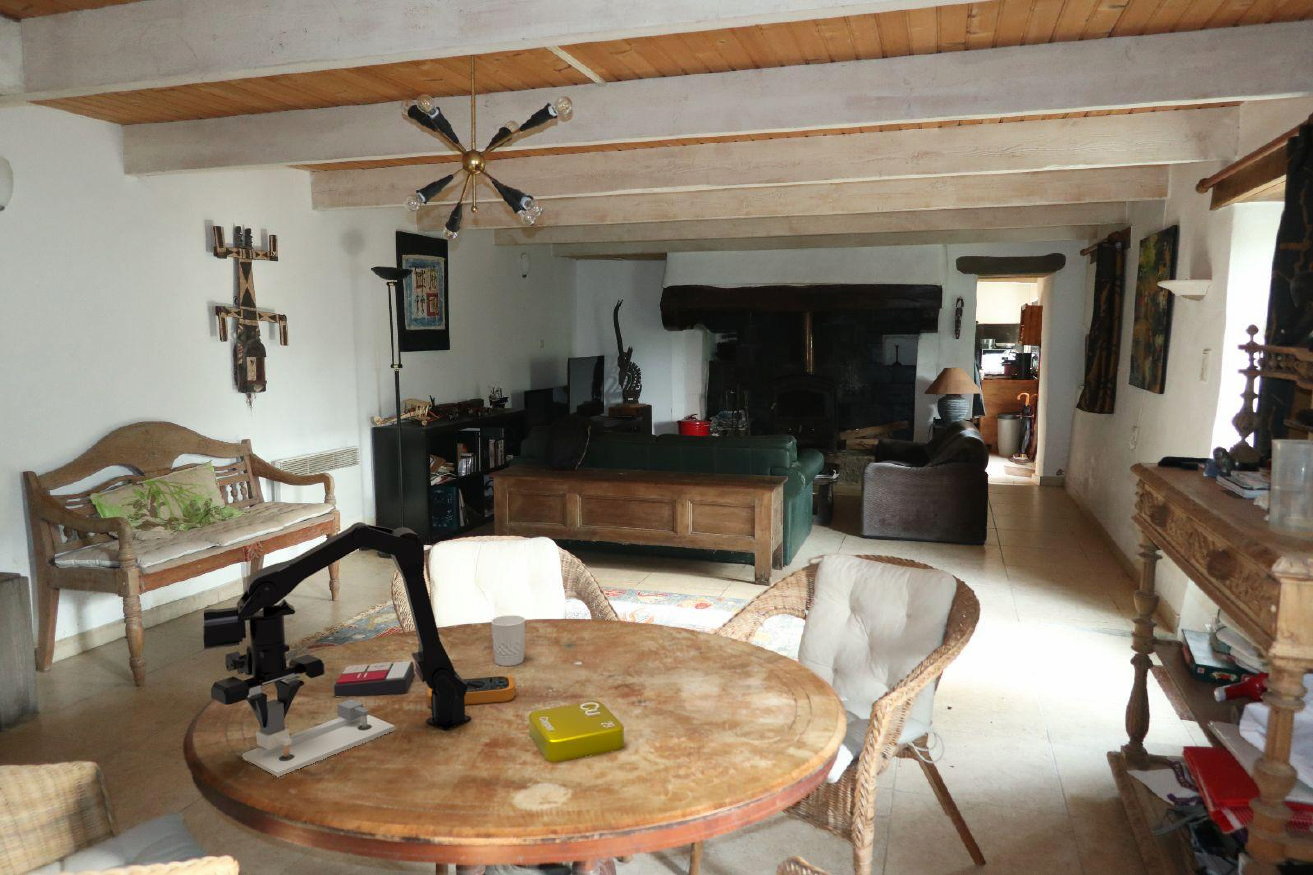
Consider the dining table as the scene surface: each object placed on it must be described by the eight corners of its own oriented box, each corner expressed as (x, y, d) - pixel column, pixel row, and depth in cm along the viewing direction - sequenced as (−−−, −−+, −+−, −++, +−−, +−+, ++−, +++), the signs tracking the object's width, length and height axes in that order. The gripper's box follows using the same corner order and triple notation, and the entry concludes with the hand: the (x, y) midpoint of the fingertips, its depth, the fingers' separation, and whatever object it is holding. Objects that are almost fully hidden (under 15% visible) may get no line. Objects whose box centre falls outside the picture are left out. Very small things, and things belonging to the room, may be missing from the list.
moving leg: (299, 752, 160) (297, 707, 159) (278, 760, 157) (276, 714, 156) (278, 742, 164) (275, 697, 164) (257, 749, 161) (254, 704, 160)
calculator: (345, 664, 200) (413, 658, 201) (346, 683, 200) (415, 676, 202) (332, 682, 189) (405, 675, 190) (334, 702, 189) (406, 695, 191)
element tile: (526, 733, 172) (525, 709, 171) (599, 719, 178) (599, 696, 177) (548, 766, 158) (548, 740, 158) (627, 750, 164) (627, 725, 163)
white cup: (488, 658, 212) (487, 617, 211) (520, 653, 216) (519, 613, 215) (497, 669, 205) (496, 627, 204) (530, 664, 209) (529, 622, 208)
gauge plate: (395, 730, 172) (394, 707, 172) (277, 778, 153) (276, 752, 153) (358, 715, 180) (357, 693, 179) (242, 759, 161) (241, 734, 160)
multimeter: (515, 703, 186) (515, 687, 186) (427, 711, 183) (426, 695, 182) (513, 688, 195) (513, 672, 194) (429, 695, 191) (428, 679, 191)
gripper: (292, 619, 172) (296, 697, 173) (193, 645, 157) (198, 730, 159) (324, 630, 165) (328, 711, 167) (224, 658, 150) (229, 747, 152)
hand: (272, 724), depth 161 cm, fingers closed on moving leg, 3 cm apart
